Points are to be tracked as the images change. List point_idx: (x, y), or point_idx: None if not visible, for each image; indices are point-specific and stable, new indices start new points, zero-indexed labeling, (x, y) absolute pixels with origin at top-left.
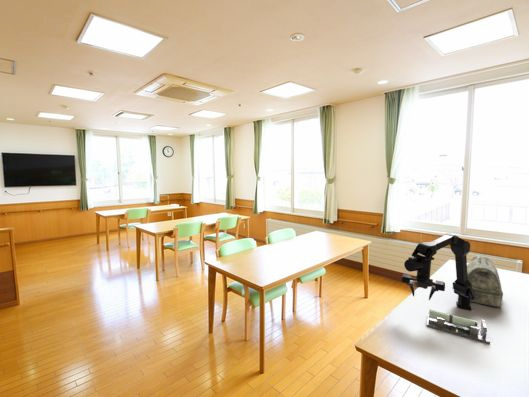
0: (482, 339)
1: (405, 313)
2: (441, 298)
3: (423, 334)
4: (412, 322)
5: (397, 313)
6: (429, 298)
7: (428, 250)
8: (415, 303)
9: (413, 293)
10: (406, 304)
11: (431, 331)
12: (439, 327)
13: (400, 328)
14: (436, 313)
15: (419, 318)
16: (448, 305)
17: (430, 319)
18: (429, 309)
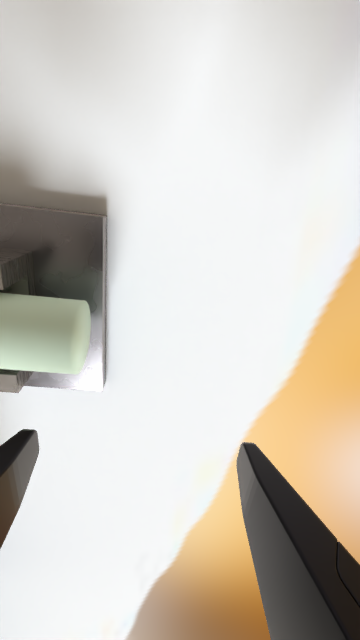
0: None
1: (248, 336)
2: (51, 564)
3: (126, 34)
4: (209, 224)
5: (305, 310)
6: (11, 450)
7: None
8: (177, 475)
9: (270, 484)
10: (229, 445)
11: (66, 141)
12: (6, 213)
13: (325, 44)
14: (5, 322)
15: (157, 311)
16: None
17: None
18: (70, 359)
